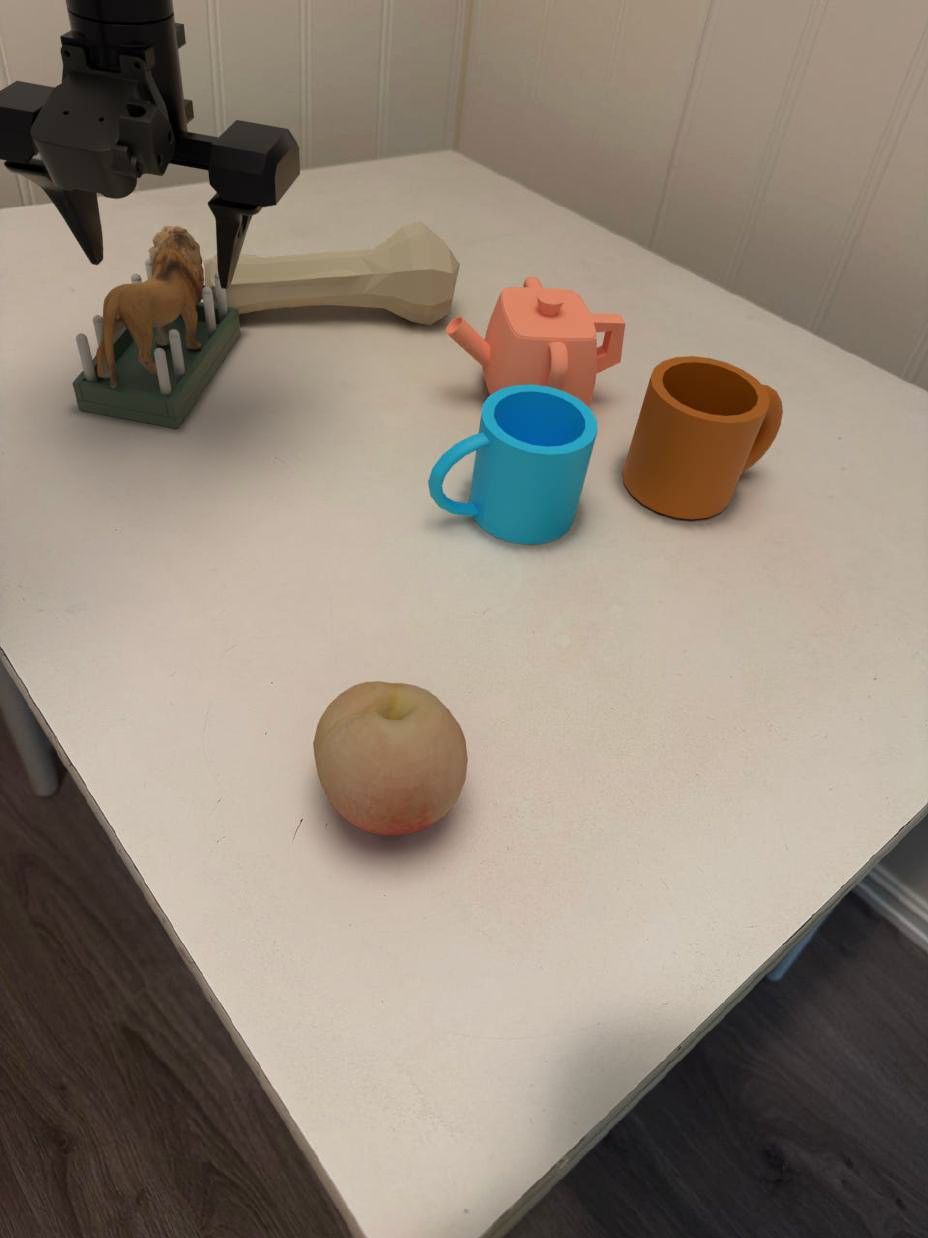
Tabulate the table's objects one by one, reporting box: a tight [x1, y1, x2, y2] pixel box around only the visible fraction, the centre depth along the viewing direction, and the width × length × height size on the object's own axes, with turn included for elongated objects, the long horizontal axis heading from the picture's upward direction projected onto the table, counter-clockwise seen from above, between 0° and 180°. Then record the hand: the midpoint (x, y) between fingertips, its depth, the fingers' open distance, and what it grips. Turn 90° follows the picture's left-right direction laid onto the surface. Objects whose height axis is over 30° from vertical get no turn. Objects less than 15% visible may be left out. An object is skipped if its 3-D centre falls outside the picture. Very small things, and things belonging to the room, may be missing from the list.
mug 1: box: [427, 385, 598, 546], centre depth 63 cm, size 12×8×8 cm
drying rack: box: [72, 258, 241, 429], centre depth 72 cm, size 8×15×6 cm, turn 171°
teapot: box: [445, 276, 626, 408], centre depth 73 cm, size 12×12×10 cm
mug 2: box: [621, 355, 784, 520], centre depth 68 cm, size 9×12×9 cm
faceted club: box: [202, 220, 461, 326], centre depth 80 cm, size 9×8×25 cm
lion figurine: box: [95, 225, 205, 388], centre depth 69 cm, size 15×5×9 cm, turn 171°
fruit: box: [312, 680, 469, 836], centre depth 46 cm, size 8×8×8 cm
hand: (161, 274), depth 61 cm, fingers open, 9 cm apart
